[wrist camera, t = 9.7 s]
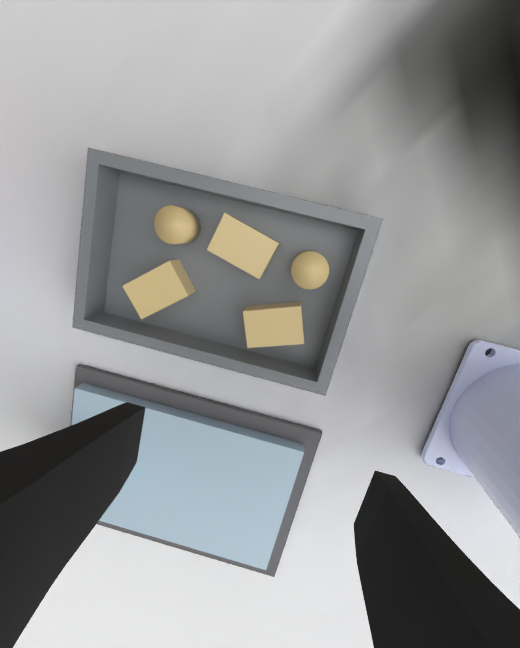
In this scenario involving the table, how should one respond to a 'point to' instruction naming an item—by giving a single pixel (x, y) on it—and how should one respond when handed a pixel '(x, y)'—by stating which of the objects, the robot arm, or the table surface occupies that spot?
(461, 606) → the robot arm
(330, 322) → the tub
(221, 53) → the table surface
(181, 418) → the lid
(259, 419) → the mat
